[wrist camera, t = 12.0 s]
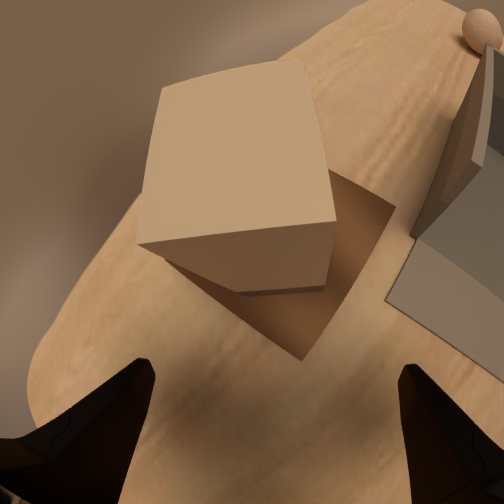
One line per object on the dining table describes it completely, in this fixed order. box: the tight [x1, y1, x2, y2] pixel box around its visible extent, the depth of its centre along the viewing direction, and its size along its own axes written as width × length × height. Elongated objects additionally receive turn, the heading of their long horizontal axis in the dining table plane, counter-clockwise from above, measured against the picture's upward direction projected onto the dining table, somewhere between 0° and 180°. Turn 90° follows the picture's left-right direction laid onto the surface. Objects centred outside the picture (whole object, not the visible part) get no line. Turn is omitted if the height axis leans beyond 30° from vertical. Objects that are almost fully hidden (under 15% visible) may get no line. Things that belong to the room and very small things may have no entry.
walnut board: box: [165, 169, 396, 361], centre depth 19 cm, size 12×12×1 cm
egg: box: [462, 9, 503, 54], centre depth 17 cm, size 6×6×8 cm
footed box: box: [137, 58, 337, 297], centre depth 13 cm, size 6×5×12 cm
